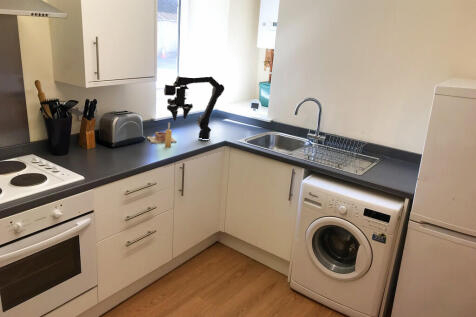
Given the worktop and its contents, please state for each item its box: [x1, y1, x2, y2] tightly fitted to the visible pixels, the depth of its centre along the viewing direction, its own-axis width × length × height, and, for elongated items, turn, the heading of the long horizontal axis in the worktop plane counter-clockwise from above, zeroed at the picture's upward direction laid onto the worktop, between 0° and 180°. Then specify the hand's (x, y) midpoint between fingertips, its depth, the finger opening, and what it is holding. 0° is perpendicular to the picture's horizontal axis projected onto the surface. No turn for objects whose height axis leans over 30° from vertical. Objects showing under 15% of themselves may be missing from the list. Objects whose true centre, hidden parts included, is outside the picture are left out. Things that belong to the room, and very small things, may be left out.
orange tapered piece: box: [164, 122, 173, 148], centre depth 244 cm, size 4×4×15 cm
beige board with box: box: [147, 131, 177, 144], centre depth 258 cm, size 16×12×4 cm
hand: (179, 119), depth 261 cm, fingers open, 9 cm apart
